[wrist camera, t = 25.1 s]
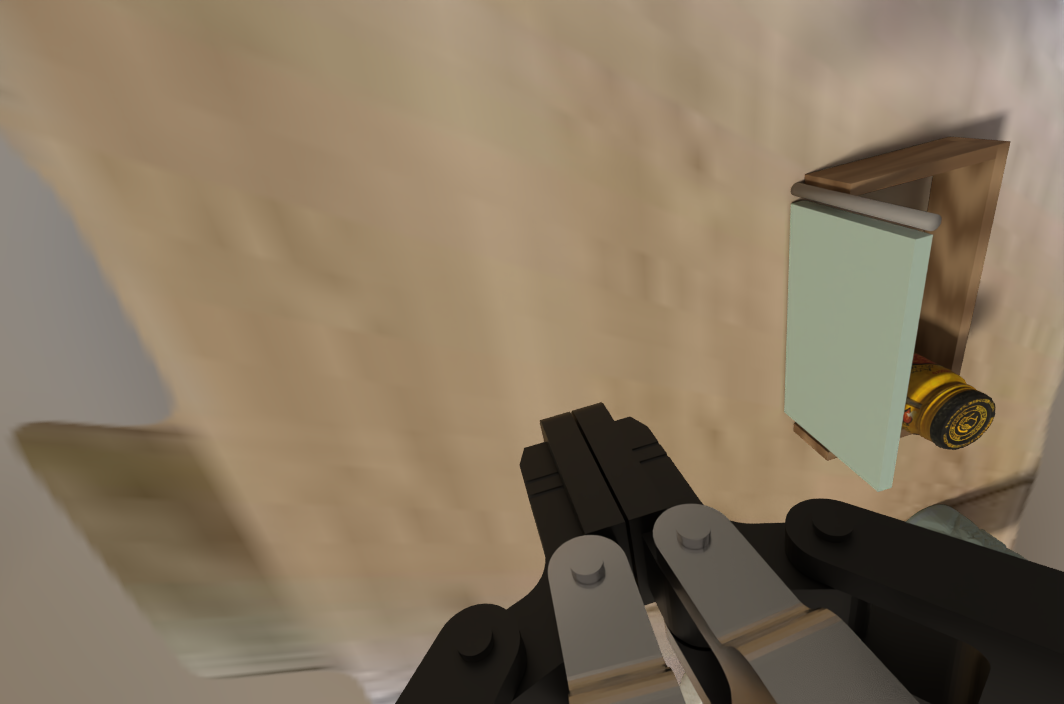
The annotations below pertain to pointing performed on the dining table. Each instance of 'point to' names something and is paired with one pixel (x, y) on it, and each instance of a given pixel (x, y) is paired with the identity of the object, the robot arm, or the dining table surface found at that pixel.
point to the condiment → (944, 406)
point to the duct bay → (936, 233)
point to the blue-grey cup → (957, 527)
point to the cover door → (854, 323)
